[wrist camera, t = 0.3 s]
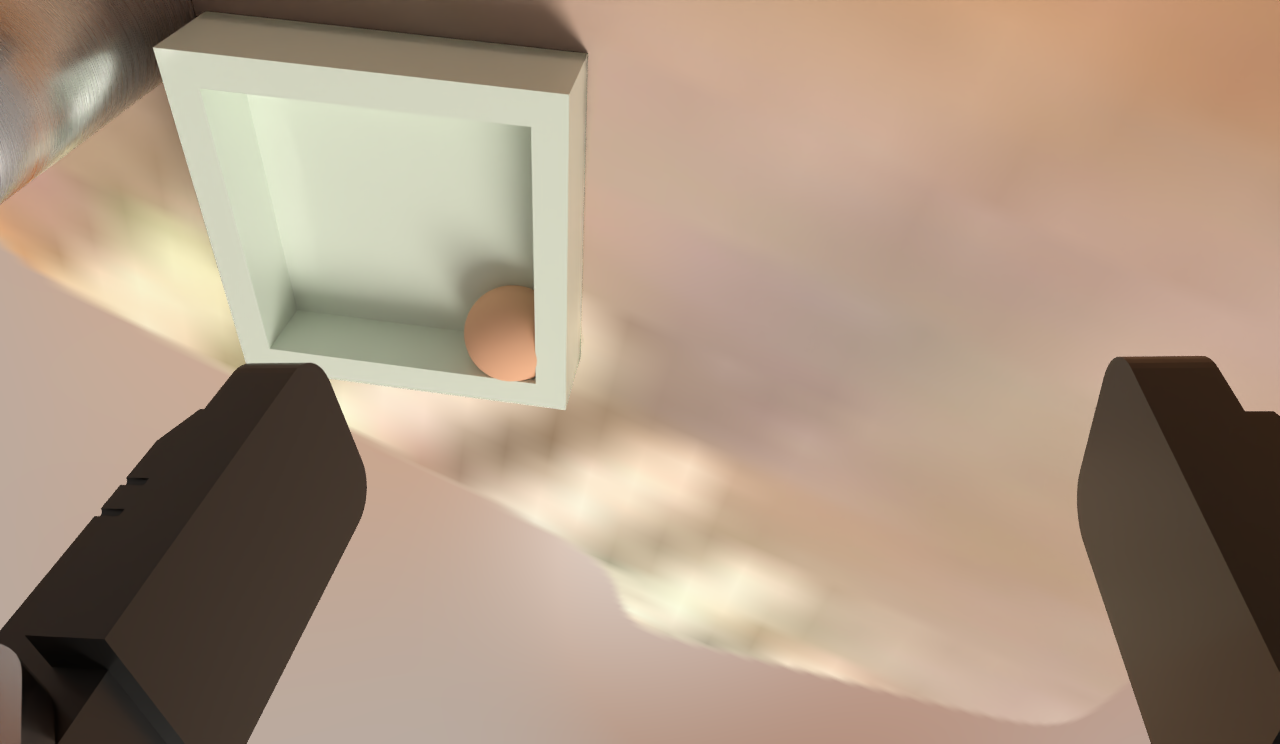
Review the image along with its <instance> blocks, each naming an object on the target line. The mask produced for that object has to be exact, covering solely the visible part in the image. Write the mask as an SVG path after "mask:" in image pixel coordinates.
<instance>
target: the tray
mask: <svg viewBox="0 0 1280 744" xmlns="http://www.w3.org/2000/svg"><path fill="white" fill-rule="evenodd" d="M153 50H154V53H155V57H156V60H157V63H158V67H159V70H160V74H161V77H162V80H163V84H164V87H165V90H166V94H167V97H168V101H169V104H170V107H171V111H172V114H173V118H174V121H175V124H176V128H177V131H178V134H179V138H180V141H181V145H182V148H183V151H184V155H185V158H186V162H187V165H188V168H189V172H190V175H191V179H192V182H193V185H194V189H195V192H196V195H197V199H198V202H199V206H200V209H201V212H202V216H203V219H204V223H205V226H206V229H207V233H208V236H209V239H210V243H211V246H212V250H213V253H214V256H215V260H216V263H217V267H218V270H219V273H220V277H221V280H222V283H223V287H224V290H225V294H226V297H227V300H228V304H229V307H230V311H231V314H232V317H233V321H234V324H235V327H236V331H237V334H238V338H239V341H240V344H241V348H242V351H243V355H244V358H245V361H246V364H247V363H314V364H317V365H318V366H320V367H321V368H322V369H323V370H324V372H325V373H326V375H327V377H328V379H335V380H343V381H350V382H358V383H366V384H373V385H381V386H388V387H396V388H403V389H411V390H418V391H426V392H433V393H441V394H448V395H456V396H463V397H471V398H478V399H486V400H493V401H501V402H508V403H516V404H523V405H531V406H538V407H546V408H553V409H561V410H566V407H567V404H568V400H569V396H570V393H571V389H572V386H573V382H574V378H575V375H576V371H577V368H578V364H579V361H580V353H581V313H582V272H583V232H584V191H585V150H586V110H587V69H588V53H579V52H570V51H561V50H552V49H543V48H534V47H525V46H516V45H507V44H498V43H489V42H479V41H470V40H461V39H452V38H443V37H434V36H425V35H416V34H407V33H398V32H389V31H380V30H371V29H362V28H353V27H344V26H335V25H326V24H317V23H308V22H299V21H290V20H281V19H272V18H263V17H254V16H245V15H236V14H227V13H218V12H209V11H205V12H204V13H202V14H201V15H199V16H198V17H196V18H195V19H194V20H192V21H191V22H189V23H188V24H186V25H185V26H183V27H182V28H180V29H179V30H177V31H176V32H175V33H173V34H172V35H170V36H169V37H167V38H166V39H164V40H163V41H161V42H160V43H159V44H157V45H156V46H154V47H153ZM507 285H519V286H524V287H528V288H530V289H533V290H534V313H535V353H536V357H537V365H536V376H535V377H533V378H531V379H527V380H523V381H502V380H498V379H496V378H493V377H490V376H489V375H487V374H485V373H484V372H483V371H482V370H480V369H479V368H478V367H477V366H476V365H475V363H474V362H473V360H472V359H471V357H470V356H469V354H468V351H467V348H466V345H465V340H464V327H465V321H466V318H467V316H468V313H469V311H470V310H471V308H472V306H473V305H474V304H475V302H476V301H477V300H478V299H479V298H480V297H481V296H482V295H484V294H485V293H487V292H489V291H490V290H493V289H495V288H498V287H501V286H507Z"/></svg>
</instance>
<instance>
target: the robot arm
mask: <svg viewBox="0 0 1280 744" xmlns="http://www.w3.org/2000/svg"><path fill="white" fill-rule="evenodd" d="M366 489H367V485H366V474H365V468H364V465H363V462H362V460H361V457H360V455H359V452H358V450H357V447H356V445H355V442H354V440H353V437H352V435H351V432H350V430H349V427H348V425H347V423H346V420H345V418H344V415H343V413H342V410H341V408H340V405H339V403H338V400H337V398H336V396H335V393H334V391H333V388H332V386H331V383H330V381H329V379H328V377H327V375H326V373H325V372H324V370H323V369H322V368H321V367H320V366H318V365H317V364H314V363H247V364H244V365H242V366H240V367H239V368H237V369H236V370H235V371H234V372H233V374H232V375H231V376H230V377H229V379H228V380H227V381H226V382H225V384H224V385H223V386H222V387H221V389H220V390H219V391H218V393H217V394H216V395H215V396H214V397H213V399H212V400H211V401H210V403H209V404H208V405H207V406H206V408H205V409H200V410H198V411H197V412H195V413H194V414H193V415H191V416H190V417H189V418H187V419H186V420H185V421H183V422H182V423H180V424H179V425H178V426H176V427H175V428H174V429H172V430H171V431H170V432H168V433H167V434H165V435H164V436H163V437H161V438H160V439H159V440H157V441H156V442H155V444H154V445H153V446H152V448H151V449H150V450H149V451H148V452H147V453H146V455H145V456H144V457H143V458H142V459H141V461H140V462H139V463H138V464H137V465H136V467H135V468H134V469H133V470H132V472H131V473H130V474H129V475H128V476H127V484H126V485H120V486H119V487H118V489H117V490H116V491H115V492H114V493H113V495H112V496H111V497H110V498H109V499H108V501H107V502H106V503H105V504H104V505H103V507H102V508H101V509H102V514H101V516H98V517H97V516H95V517H94V518H93V519H92V520H91V521H90V523H89V524H88V525H87V526H86V527H85V528H84V530H83V531H82V532H81V533H80V535H79V536H78V537H77V538H76V539H75V541H74V542H73V543H72V544H71V545H70V547H69V548H68V549H67V550H66V552H65V553H64V554H63V555H62V557H61V558H60V559H59V560H58V561H57V563H56V564H55V565H54V566H53V567H52V569H51V570H50V571H49V572H48V574H47V575H46V576H45V577H44V578H43V579H42V581H41V582H40V583H39V584H38V586H37V587H36V588H35V589H34V590H33V592H32V593H31V594H30V595H29V596H28V598H27V599H26V600H25V601H24V603H23V604H22V605H21V606H20V607H19V609H18V610H17V611H16V612H15V613H14V615H13V616H12V617H11V618H10V619H9V621H8V622H7V623H6V624H5V625H4V627H3V628H2V629H1V630H0V744H247V742H248V740H249V738H250V736H251V734H252V732H253V730H254V728H255V726H256V724H257V722H258V720H259V718H260V716H261V714H262V712H263V710H264V708H265V706H266V704H267V702H268V700H269V698H270V696H271V694H272V693H273V691H274V689H275V686H276V685H277V683H278V680H279V679H280V676H281V675H282V673H283V671H284V669H285V667H286V665H287V663H288V661H289V659H290V657H291V655H292V653H293V651H294V649H295V647H296V645H297V643H298V641H299V639H300V637H301V635H302V633H303V632H304V630H305V628H306V626H307V624H308V621H309V620H310V618H311V616H312V614H313V612H314V610H315V608H316V606H317V604H318V602H319V600H320V598H321V596H322V594H323V592H324V590H325V588H326V586H327V584H328V582H329V580H330V578H331V576H332V574H333V573H334V571H335V568H336V567H337V564H338V563H339V560H340V559H341V557H342V555H343V553H344V551H345V549H346V547H347V545H348V543H349V541H350V539H351V537H352V535H353V533H354V531H355V529H356V527H357V525H358V523H359V521H360V519H361V516H362V514H363V510H364V506H365V501H366V491H367V490H366ZM1077 509H1078V519H1079V526H1080V531H1081V535H1082V539H1083V542H1084V545H1085V548H1086V551H1087V554H1088V557H1089V560H1090V563H1091V566H1092V569H1093V572H1094V575H1095V578H1096V581H1097V584H1098V587H1099V590H1100V593H1101V596H1102V599H1103V602H1104V605H1105V608H1106V611H1107V614H1108V617H1109V620H1110V623H1111V626H1112V629H1113V632H1114V635H1115V638H1116V641H1117V643H1118V646H1119V649H1120V652H1121V655H1122V658H1123V661H1124V664H1125V667H1126V670H1127V673H1128V676H1129V679H1130V682H1131V685H1132V688H1133V691H1134V694H1135V697H1136V700H1137V703H1138V706H1139V709H1140V712H1141V715H1142V718H1143V721H1144V724H1145V727H1146V730H1147V733H1148V736H1149V739H1150V742H1151V744H1280V416H1279V415H1278V414H1276V413H1275V412H1274V411H1244V409H1243V408H1242V406H1241V404H1240V403H1239V401H1238V399H1237V398H1236V396H1235V395H1234V393H1233V391H1232V390H1231V388H1230V386H1229V385H1228V383H1227V381H1226V380H1225V378H1224V377H1223V375H1222V373H1221V372H1220V370H1219V368H1218V367H1217V366H1216V364H1215V363H1214V362H1213V361H1212V360H1211V359H1210V358H1208V357H1206V356H1156V357H1116V358H1114V359H1113V360H1112V361H1111V362H1110V364H1109V365H1108V367H1107V370H1106V372H1105V376H1104V379H1103V383H1102V387H1101V391H1100V395H1099V399H1098V403H1097V407H1096V410H1095V414H1094V418H1093V422H1092V426H1091V430H1090V434H1089V438H1088V442H1087V446H1086V450H1085V454H1084V458H1083V462H1082V466H1081V469H1080V474H1079V479H1078V489H1077Z"/></svg>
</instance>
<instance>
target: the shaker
mask: <svg viewBox="0 0 1280 744" xmlns="http://www.w3.org/2000/svg"><path fill="white" fill-rule="evenodd" d="M194 19H195V15H194V10H193V7H192V4H191V0H0V204H2V203H3V202H4V201H6V200H7V199H8V198H10V197H11V196H12V195H14V194H15V193H16V192H18V191H19V190H20V189H22V188H23V187H24V186H26V185H27V184H28V183H29V182H31V181H32V180H33V179H35V178H36V177H37V176H39V175H40V174H41V173H43V172H44V171H45V170H47V169H48V168H49V167H51V166H52V165H53V164H55V163H56V162H57V161H59V160H60V159H61V158H63V157H64V156H65V155H67V154H68V153H69V152H71V151H72V150H73V149H75V148H76V147H77V146H79V145H80V144H81V143H82V142H84V141H85V140H86V139H88V138H89V137H90V136H92V135H93V134H94V133H96V132H97V131H98V130H100V129H101V128H102V127H104V126H105V125H106V124H108V123H109V122H110V121H112V120H113V119H114V118H116V117H117V116H118V115H120V114H121V113H122V112H124V111H125V110H126V109H128V108H129V107H130V106H131V105H133V104H134V103H135V102H137V101H138V100H139V99H141V98H142V97H143V96H145V95H146V94H147V93H149V92H150V91H151V90H153V89H154V88H155V87H157V86H158V85H159V84H161V83H162V82H163V80H162V77H161V74H160V70H159V67H158V63H157V60H156V57H155V53H154V50H153V47H154V46H156V45H157V44H159V43H160V42H161V41H163V40H164V39H166V38H167V37H169V36H170V35H172V34H173V33H175V32H176V31H177V30H179V29H180V28H182V27H183V26H185V25H186V24H188V23H189V22H191V21H192V20H194Z"/></svg>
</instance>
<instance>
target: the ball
mask: <svg viewBox="0 0 1280 744" xmlns="http://www.w3.org/2000/svg"><path fill="white" fill-rule="evenodd" d="M464 340H465V345H466V348H467V351H468V354H469V356H470V357H471V359H472V360H473V362H474V363H475V365H476V366H477V367H478V368H479V369H480V370H482V371H483V372H484V373H485V374H487V375H489V376H490V377H493V378H496V379H498V380H502V381H523V380H527V379H531V378H533V377H535V376H536V365H537V357H536V353H535V313H534V290H533V289H530V288H528V287H524V286H519V285H507V286H501V287H498V288H495V289H493V290H490V291H489V292H487V293H485V294H484V295H482V296H481V297H480V298H479V299H478V300H477V301H476V302H475V304H474V305H473V306H472V308H471V310H470V311H469V313H468V316H467V318H466V321H465V327H464Z"/></svg>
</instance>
